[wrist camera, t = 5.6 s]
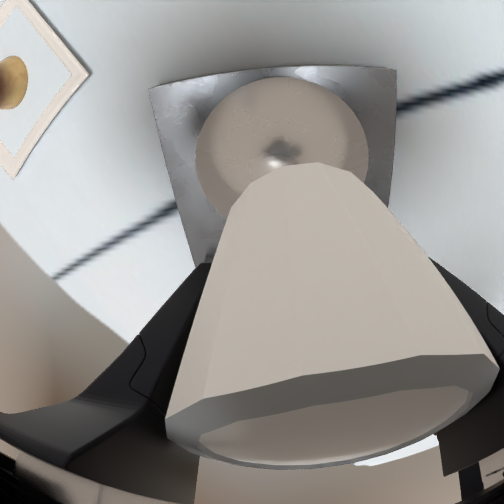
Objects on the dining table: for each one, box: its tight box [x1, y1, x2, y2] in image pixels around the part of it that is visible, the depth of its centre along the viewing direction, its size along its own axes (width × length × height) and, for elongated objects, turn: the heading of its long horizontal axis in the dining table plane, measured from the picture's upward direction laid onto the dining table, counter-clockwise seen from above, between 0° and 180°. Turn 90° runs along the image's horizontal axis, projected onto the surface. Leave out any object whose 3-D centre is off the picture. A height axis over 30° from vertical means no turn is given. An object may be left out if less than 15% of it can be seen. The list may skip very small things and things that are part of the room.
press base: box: [149, 65, 396, 267], centre depth 20 cm, size 14×20×3 cm
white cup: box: [165, 162, 500, 470], centre depth 7 cm, size 7×7×7 cm
